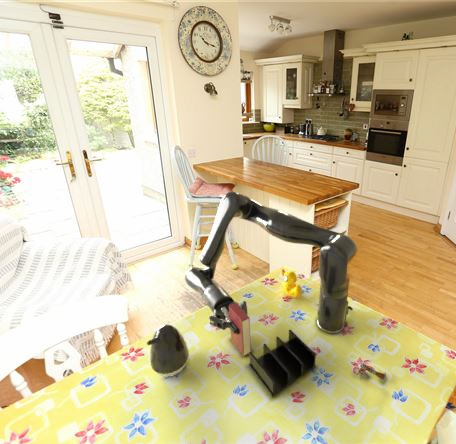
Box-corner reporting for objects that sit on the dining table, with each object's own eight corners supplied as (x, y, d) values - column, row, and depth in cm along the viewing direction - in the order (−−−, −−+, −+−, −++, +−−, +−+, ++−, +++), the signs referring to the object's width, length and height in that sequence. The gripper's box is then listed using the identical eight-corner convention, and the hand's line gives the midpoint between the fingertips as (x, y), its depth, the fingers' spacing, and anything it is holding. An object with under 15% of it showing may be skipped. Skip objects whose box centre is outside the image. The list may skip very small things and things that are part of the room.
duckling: (276, 289, 119) (276, 269, 115) (286, 284, 122) (287, 264, 118) (294, 304, 111) (295, 282, 107) (305, 298, 114) (306, 277, 110)
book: (238, 336, 96) (236, 302, 90) (251, 352, 90) (249, 317, 84) (231, 340, 94) (228, 305, 88) (243, 356, 88) (241, 321, 83)
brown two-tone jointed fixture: (352, 369, 84) (361, 360, 82) (377, 381, 84) (386, 372, 82) (353, 375, 82) (361, 365, 80) (378, 387, 82) (387, 377, 80)
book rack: (290, 341, 94) (290, 328, 92) (315, 367, 85) (316, 353, 83) (248, 366, 85) (248, 352, 83) (272, 397, 76) (272, 383, 74)
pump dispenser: (145, 372, 83) (134, 332, 77) (175, 347, 91) (167, 309, 85) (168, 390, 78) (159, 348, 72) (197, 362, 86) (191, 323, 80)
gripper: (197, 298, 94) (220, 330, 82) (235, 283, 102) (262, 310, 89) (199, 316, 97) (222, 349, 85) (236, 300, 105) (262, 328, 92)
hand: (242, 329), depth 87 cm, fingers closed on book, 2 cm apart
